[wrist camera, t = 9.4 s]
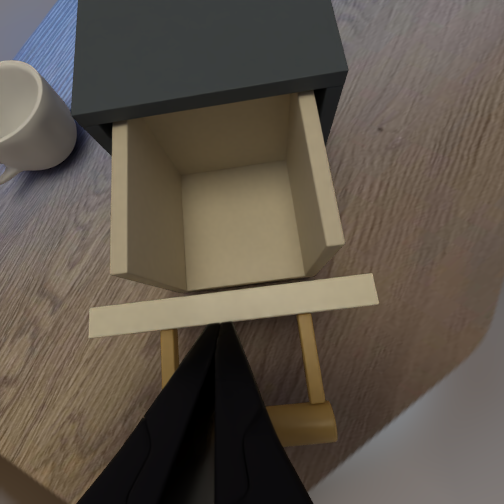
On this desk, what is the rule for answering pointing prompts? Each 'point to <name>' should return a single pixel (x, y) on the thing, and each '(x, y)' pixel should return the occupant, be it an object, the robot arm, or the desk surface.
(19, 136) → the teacup
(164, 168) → the drawer
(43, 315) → the desk surface
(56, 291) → the desk surface
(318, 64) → the cabinet
